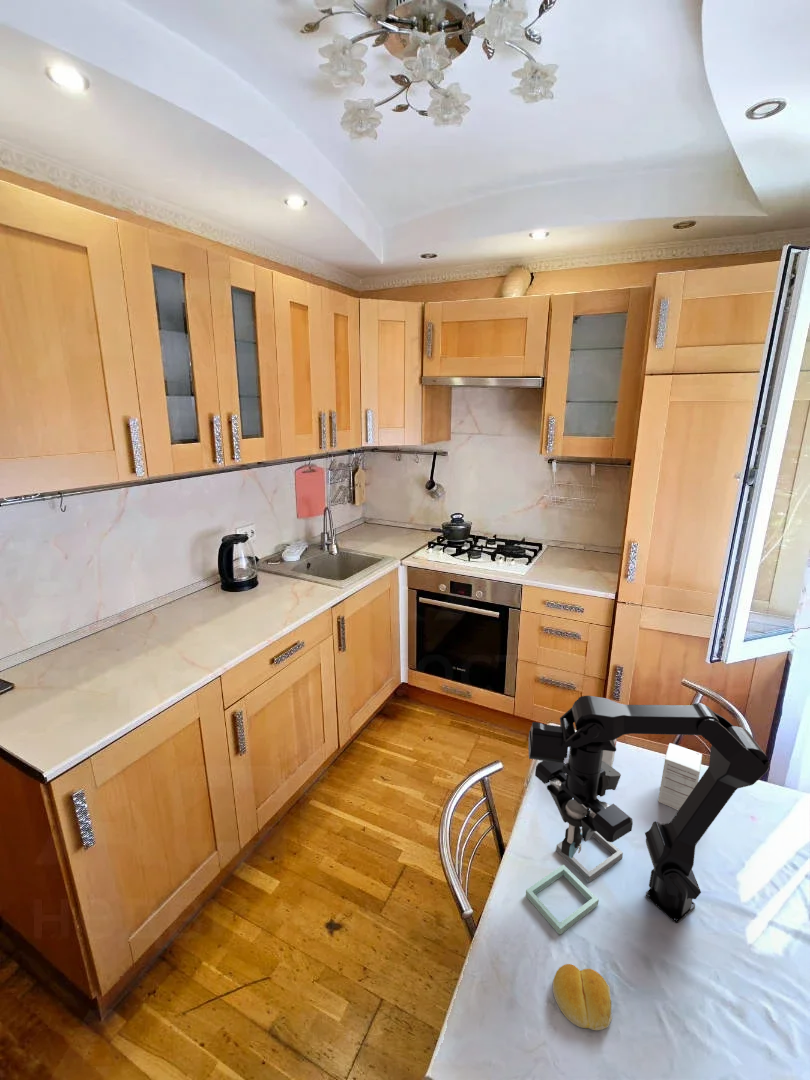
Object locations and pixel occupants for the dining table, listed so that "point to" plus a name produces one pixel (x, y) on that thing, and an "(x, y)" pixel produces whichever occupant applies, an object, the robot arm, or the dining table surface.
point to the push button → (573, 826)
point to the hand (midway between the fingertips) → (575, 830)
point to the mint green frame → (576, 915)
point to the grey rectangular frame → (602, 866)
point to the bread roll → (583, 997)
